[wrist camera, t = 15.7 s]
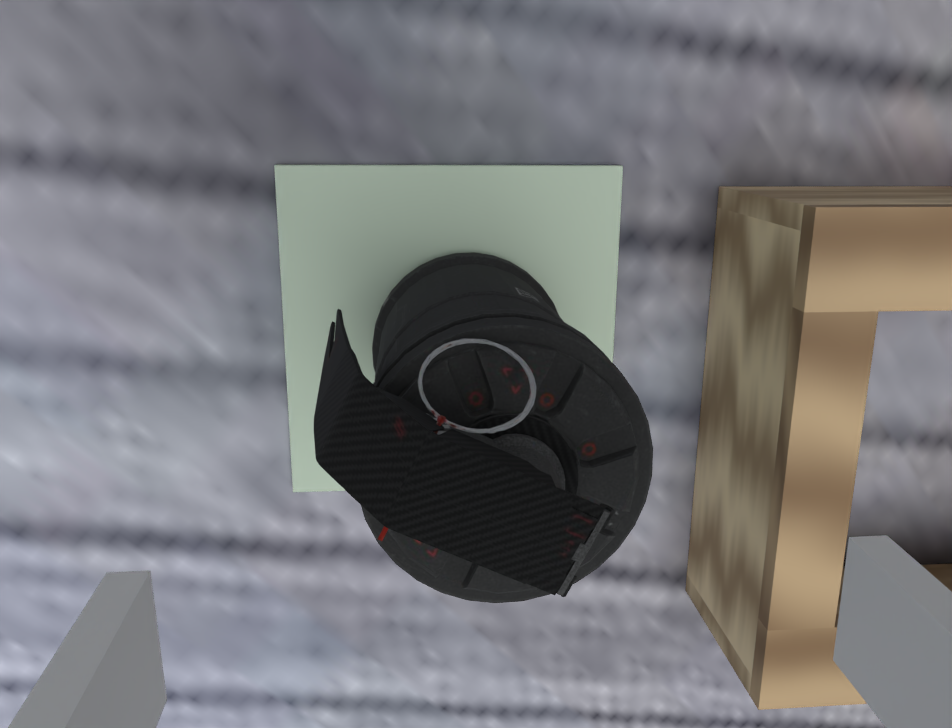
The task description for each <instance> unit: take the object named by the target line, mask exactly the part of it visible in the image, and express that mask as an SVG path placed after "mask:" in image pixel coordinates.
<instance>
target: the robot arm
mask: <svg viewBox="0 0 952 728" xmlns="http://www.w3.org/2000/svg"><path fill="white" fill-rule="evenodd" d="M833 661H834V662H835V663H836V665H837V666H838V667H839V669H840V670H841V671H842V672H843V674H844V675H845V676H846V677H847V679H848V680H849V681H850V683H851V684H852V685H853V686H854V688H855V689H856V690H857V691H858V693H859V694H860V695H861V696H862V698H863V699H864V700H865V702H866V703H867V704H868V705H869V707H870V708H871V709H872V710H873V712H874V713H875V714H876V716H877V717H878V718H879V719H880V721H881V722H882V723H883V724H884V726H885V727H886V728H952V592H951V591H950V590H949V589H948V588H947V587H946V586H945V585H943V584H942V583H941V582H940V581H939V580H938V579H936V578H935V577H934V576H933V575H932V574H931V573H930V572H928V571H927V570H926V569H925V568H924V567H923V566H922V565H920V564H919V563H918V562H917V561H916V560H915V559H914V558H912V557H911V556H910V555H909V554H908V553H907V552H906V551H904V550H903V549H902V548H901V547H900V546H899V545H897V544H896V543H895V542H894V541H893V540H892V539H891V538H889V537H888V536H887V535H883V536H862V537H849V540H848V548H847V555H846V563H845V571H844V579H843V586H842V594H841V602H840V609H839V617H838V625H837V633H836V640H835V648H834V656H833ZM166 701H167V697H166V689H165V681H164V673H163V665H162V658H161V650H160V642H159V634H158V626H157V619H156V611H155V603H154V595H153V587H152V580H151V572H150V571H131V572H110V573H106V575H105V576H104V578H103V579H102V581H101V582H100V584H99V586H98V587H97V589H96V590H95V592H94V593H93V595H92V597H91V598H90V600H89V601H88V603H87V604H86V606H85V608H84V609H83V611H82V612H81V614H80V615H79V617H78V619H77V620H76V622H75V623H74V625H73V626H72V628H71V630H70V631H69V633H68V634H67V636H66V637H65V639H64V641H63V642H62V644H61V645H60V647H59V648H58V650H57V652H56V653H55V655H54V656H53V658H52V659H51V661H50V663H49V664H48V666H47V667H46V669H45V670H44V672H43V674H42V675H41V677H40V678H39V680H38V681H37V683H36V684H35V686H34V688H33V689H32V691H31V692H30V694H29V695H28V697H27V699H26V700H25V702H24V703H23V705H22V706H21V708H20V710H19V711H18V713H17V714H16V716H15V717H14V719H13V721H12V722H11V724H10V725H9V727H8V728H156V726H157V724H158V721H159V719H160V716H161V714H162V711H163V709H164V706H165V703H166Z"/></svg>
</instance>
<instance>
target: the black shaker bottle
mask: <svg viewBox="0 0 952 728" xmlns="http://www.w3.org/2000/svg"><path fill="white" fill-rule="evenodd" d="M334 334H335V341H334ZM372 354H373V367H374V371H375V382H374V383H373V384H372V383H371V382H370V381H369V380H368V379H367V378H366V377H365V376H364V375H363V373H362V371H361V368H360V365H359V363H358V360H357V358H356V355H355V353H354V352H353V350H352V349H351V346H350V343H349V340H348V336H347V333H346V330H345V327H344V322H343V317H342V311H341V310H340V309H338V310H337V314H336V326H335V322H333V321H332V323H331V326H330V331H329V336H328V341H327V346H326V351H325V356H324V362H323V367H322V373H321V379H320V385H319V391H318V397H317V402H316V408H315V414H314V442H315V455H316V461H317V462H318V464H319V465H320V466H321V467H322V468H323V469H324V470H325V471H326V472H327V473H328V474H329V475H330V476H331V477H332V478H333V479H334V480H335V481H336V482H337V483H338V484H339V485H340V486H342V487H343V488H344V489H345V490H346V491H347V492H348V493H349V494H350V495H351V496H352V497H353V498H354V499H355V500H356V501H358V502H359V503H360V504H361V507H362V510H363V513H364V517H365V520H366V522H367V524H368V525H369V527H370V529H371V531H372V533H373V535H374V536H375V538H376V540H377V542H378V544H379V545H380V546H381V547H382V548H383V549H384V551H385V552H386V553H387V554H388V555H389V556H390V558H391V559H392V560H393V561H394V562H395V563H396V564H397V565H398V566H399V567H401V568H402V569H403V570H404V571H406V572H407V573H408V574H410V575H411V576H412V577H413V578H415V579H416V580H417V581H419V582H421V583H423V584H425V585H427V586H429V587H431V588H433V589H435V590H437V591H439V592H441V593H444V594H448V595H451V596H455V597H458V598H462V599H465V600H470V601H480V602H490V603H503V602H517V601H525V600H529V599H533V598H537V597H541V596H545V595H549V594H553V595H555V594H556V593H557V594H559V595H561V596H562V597H565V596H566V595H567V593H568V591H569V589H570V588H571V586H572V584H574V583H576V582H578V581H579V580H581V579H582V578H584V577H585V576H587V575H588V574H590V573H591V572H593V571H594V570H595V569H597V568H598V567H600V566H601V565H602V564H603V563H604V562H605V561H606V560H607V559H608V558H609V557H610V556H611V555H612V554H613V553H614V552H615V551H616V550H617V549H618V548H619V547H620V545H621V544H622V543H623V541H624V540H625V538H626V537H627V536H628V534H629V533H630V531H631V530H632V529H633V527H634V526H635V523H636V521H637V519H638V517H639V515H640V513H641V510H642V508H643V506H644V504H645V502H646V498H647V494H648V490H649V486H650V481H651V477H652V460H653V446H652V440H651V435H650V429H649V424H648V420H647V418H646V415H645V413H644V410H643V408H642V406H641V403H640V401H639V398H638V396H637V395H636V393H635V392H634V390H633V389H632V387H631V386H630V385H629V383H628V382H627V380H626V379H625V377H624V376H623V374H622V373H621V372H620V371H619V370H618V369H617V367H616V366H615V365H614V364H613V363H612V362H611V361H610V359H609V358H608V357H607V356H606V355H605V354H604V352H603V351H601V350H600V349H599V348H598V347H597V346H596V345H595V344H594V343H593V342H592V341H591V340H590V339H589V338H588V337H587V336H586V335H584V334H583V333H581V332H580V331H578V330H576V329H575V328H573V327H572V326H570V325H568V324H567V323H565V322H564V321H563V320H562V319H561V317H560V316H559V314H558V312H557V309H556V307H555V305H554V303H553V301H552V300H551V298H550V297H549V296H548V294H547V293H546V291H545V290H544V288H543V287H542V286H541V285H540V284H539V283H538V282H537V281H536V280H535V279H534V278H533V277H532V276H531V275H530V274H529V273H528V272H527V271H525V270H523V269H522V268H520V267H518V266H517V265H515V264H514V263H512V262H510V261H507V260H505V259H502V258H499V257H497V256H494V255H488V254H482V253H476V252H470V253H454V254H450V255H446V256H441V257H437V258H435V259H433V260H431V261H428V262H426V263H424V264H422V265H420V266H418V267H417V268H415V269H414V270H413V271H411V272H410V273H409V274H407V275H406V276H404V277H403V278H402V280H401V281H400V282H399V283H398V284H397V285H396V286H395V287H394V288H393V289H392V290H391V292H390V293H389V295H388V297H387V298H386V300H385V302H384V303H383V305H382V307H381V309H380V312H379V315H378V318H377V320H376V323H375V329H374V336H373V343H372Z"/></svg>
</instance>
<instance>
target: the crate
mask: <svg viewBox="0 0 952 728" xmlns="http://www.w3.org/2000/svg"><path fill="white" fill-rule="evenodd" d="M941 310H952V186H719V194H718V206H717V218H716V230H715V242H714V254H713V266H712V278H711V290H710V302H709V314H708V326H707V338H706V350H705V362H704V374H703V386H702V398H701V410H700V423H699V435H698V447H697V459H696V471H695V483H694V495H693V507H692V519H691V531H690V543H689V555H688V567H687V579H686V592H687V594H688V595H689V597H690V598H691V600H692V602H693V603H694V605H695V607H696V608H697V610H698V612H699V613H700V615H701V616H702V618H703V620H704V621H705V623H706V625H707V626H708V628H709V630H710V631H711V633H712V635H713V636H714V638H715V639H716V641H717V643H718V644H719V646H720V648H721V649H722V651H723V653H724V654H725V656H726V657H727V659H728V661H729V662H730V664H731V666H732V667H733V669H734V671H735V672H736V674H737V675H738V677H739V679H740V680H741V682H742V684H743V685H744V687H745V689H746V690H747V692H748V693H749V695H750V697H751V698H752V700H753V702H754V703H755V705H756V707H757V708H758V710H762V709H780V708H798V707H816V706H834V705H852V704H867V703H866V702H865V700H864V699H863V698H862V696H861V695H860V694H859V693H858V691H857V690H856V689H855V688H854V686H853V685H852V684H851V683H850V681H849V680H848V679H847V677H846V676H845V675H844V674H843V672H842V671H841V670H840V669H839V667H838V666H837V665H836V663H835V662H834V661H833V656H834V648H835V640H836V633H837V625H838V617H839V609H840V602H841V594H842V586H843V579H844V571H845V568H843V562H844V555H845V548H846V541H847V534H848V526H849V519H850V512H851V505H852V498H853V490H854V483H855V476H856V469H857V462H858V454H859V447H860V440H861V433H862V426H863V419H864V411H865V404H866V397H867V390H868V383H869V375H870V368H871V361H872V354H873V347H874V339H875V332H876V325H877V318H878V311H941ZM922 566H923V567H924V568H925V569H926V570H927V571H928V572H930V573H931V574H932V575H933V576H934V577H935V578H936V579H938V580H939V581H940V582H941V583H942V584H943V585H945V586H946V587H947V588H948V589H949V590H950V591H951V592H952V563H950V564H925V565H922Z"/></svg>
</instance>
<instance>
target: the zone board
mask: <svg viewBox="0 0 952 728" xmlns="http://www.w3.org/2000/svg"><path fill="white" fill-rule="evenodd" d="M274 168H275V186H276V203H277V221H278V238H279V256H280V273H281V291H282V308H283V326H284V343H285V361H286V378H287V395H288V413H289V430H290V448H291V465H292V483H293V492H319V491H346V490H345V489H344V488H343V487H342V486H340V485H339V484H338V483H337V482H336V481H335V480H334V479H333V478H332V477H331V476H330V475H329V474H328V473H327V472H326V471H325V470H324V469H323V468H322V467H321V466H320V465H319V464H318V462H317V461H316V455H315V442H314V414H315V408H316V402H317V397H318V391H319V385H320V379H321V373H322V367H323V362H324V356H325V351H326V346H327V341H328V336H329V331H330V326H331V323H332V321H333V322H335V326H336V314H337V310H338V309H340V310H341V311H342V317H343V322H344V327H345V330H346V333H347V336H348V340H349V343H350V346H351V349H352V350H353V352H354V353H355V355H356V358H357V360H358V363H359V365H360V368H361V371H362V373H363V375H364V376H365V377H366V378H367V379H368V380H369V381H370V382H371V383H372V384H373V383H374V382H375V371H374V367H373V354H372V343H373V336H374V329H375V323H376V320H377V318H378V315H379V312H380V309H381V307H382V305H383V303H384V302H385V300H386V298H387V297H388V295H389V293H390V292H391V290H392V289H393V288H394V287H395V286H396V285H397V284H398V283H399V282H400V281H401V280H402V278H403V277H404V276H406V275H407V274H409V273H410V272H411V271H413V270H414V269H415V268H417V267H418V266H420V265H422V264H424V263H426V262H428V261H431V260H433V259H435V258H437V257H441V256H446V255H450V254H454V253H470V252H476V253H482V254H488V255H494V256H497V257H499V258H502V259H505V260H507V261H510V262H512V263H514V264H515V265H517V266H518V267H520V268H522V269H523V270H525V271H527V272H528V273H529V274H530V275H531V276H532V277H533V278H534V279H535V280H536V281H537V282H538V283H539V284H540V285H541V286H542V287H543V288H544V290H545V291H546V293H547V294H548V296H549V297H550V298H551V300H552V301H553V303H554V305H555V307H556V309H557V312H558V314H559V316H560V317H561V319H562V320H563V321H564V322H565V323H567V324H568V325H570V326H572V327H573V328H575V329H576V330H578V331H580V332H581V333H583V334H584V335H586V336H587V337H588V338H589V339H590V340H591V341H592V342H593V343H594V344H595V345H596V346H597V347H598V348H599V349H600V350H601V351H603V352H604V354H605V355H606V356H607V357H608V358H609V359H610V361H611V362H612V363H613V348H614V328H615V309H616V290H617V271H618V252H619V233H620V214H621V195H622V176H623V166H621V165H283V164H277V165H274ZM334 341H335V334H334Z"/></svg>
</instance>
